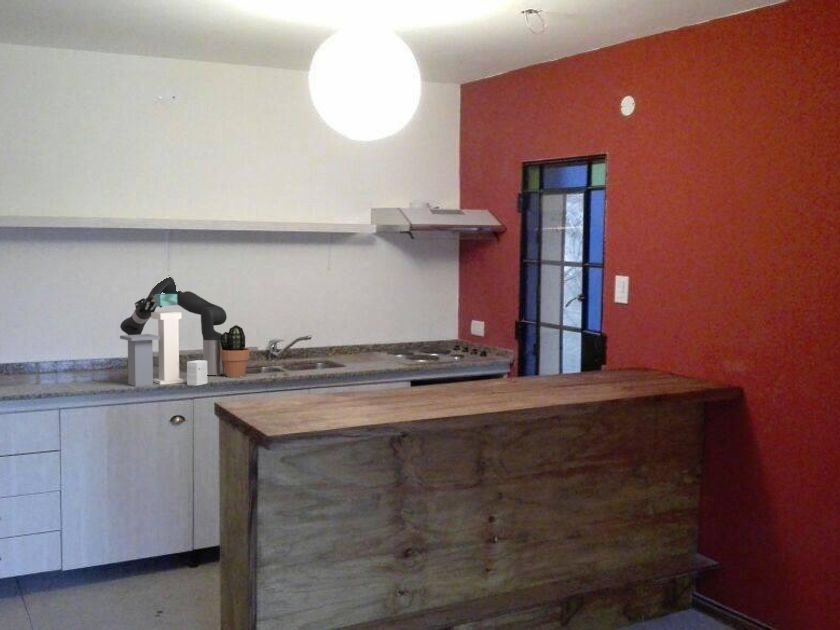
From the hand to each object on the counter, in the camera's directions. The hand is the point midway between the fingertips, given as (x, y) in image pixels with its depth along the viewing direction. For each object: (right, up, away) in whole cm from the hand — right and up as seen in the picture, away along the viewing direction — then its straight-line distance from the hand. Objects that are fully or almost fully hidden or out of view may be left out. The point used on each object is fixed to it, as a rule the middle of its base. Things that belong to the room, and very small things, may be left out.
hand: (155, 295), depth 394 cm
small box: (+23, -40, -12) cm, 48 cm away
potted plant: (+34, -39, +14) cm, 54 cm away
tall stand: (+7, -40, -6) cm, 41 cm away
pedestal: (-2, -40, -14) cm, 43 cm away
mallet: (+3, -4, -3) cm, 6 cm away
